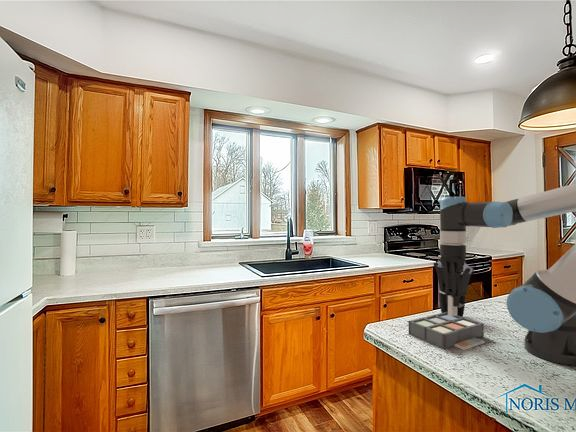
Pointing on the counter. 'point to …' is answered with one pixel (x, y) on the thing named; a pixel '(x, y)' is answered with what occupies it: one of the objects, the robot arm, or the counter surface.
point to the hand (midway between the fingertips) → (452, 315)
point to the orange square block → (454, 326)
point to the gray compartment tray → (456, 338)
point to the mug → (445, 306)
